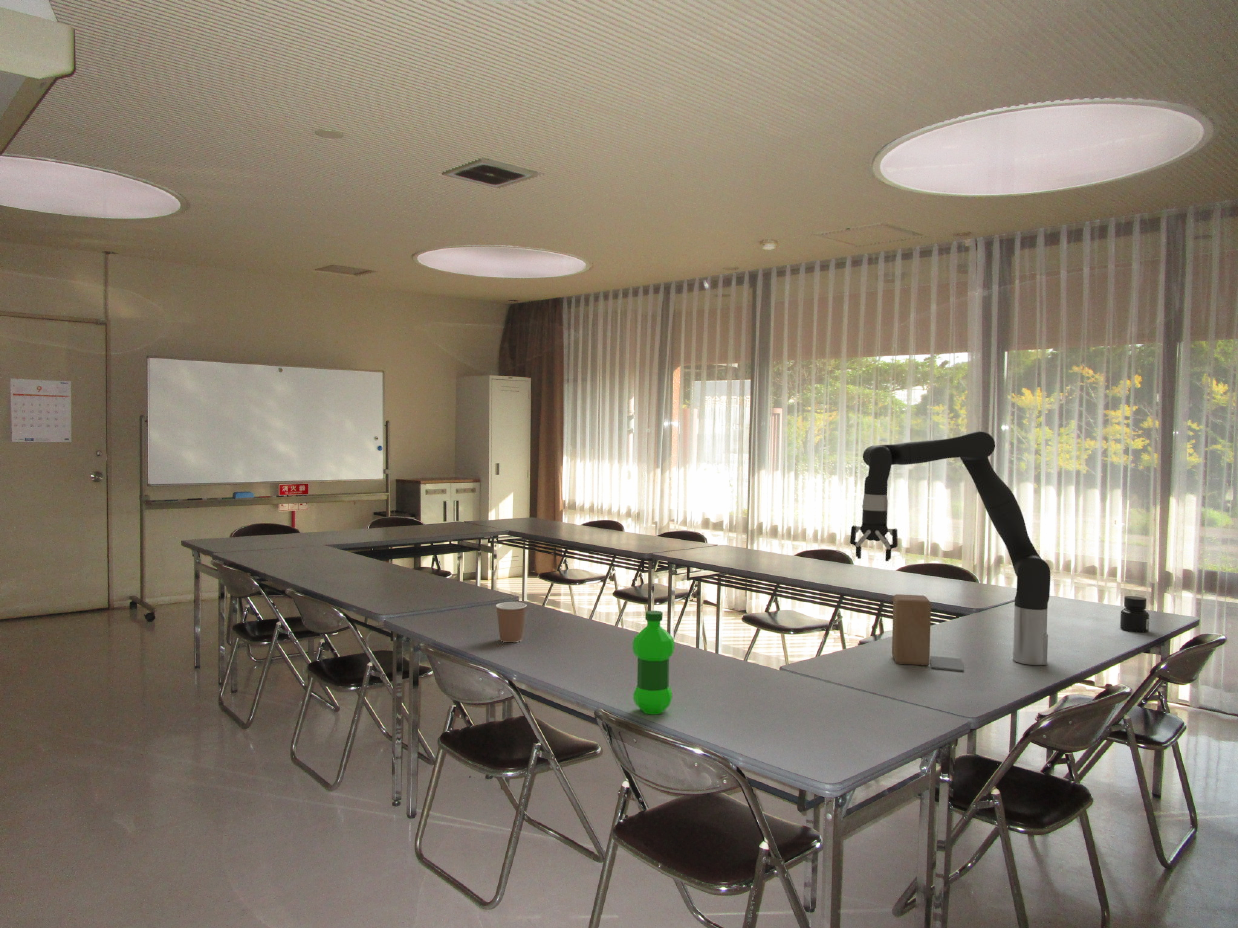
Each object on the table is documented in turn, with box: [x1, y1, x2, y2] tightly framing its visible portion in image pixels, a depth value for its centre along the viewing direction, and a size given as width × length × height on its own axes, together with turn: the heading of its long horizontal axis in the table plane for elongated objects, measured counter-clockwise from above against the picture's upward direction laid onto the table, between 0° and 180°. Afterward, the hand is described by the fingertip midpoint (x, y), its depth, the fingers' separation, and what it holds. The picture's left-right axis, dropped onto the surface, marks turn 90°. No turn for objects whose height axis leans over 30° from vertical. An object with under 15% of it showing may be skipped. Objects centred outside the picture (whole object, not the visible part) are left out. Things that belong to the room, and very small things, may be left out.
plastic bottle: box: [632, 610, 675, 715], centre depth 207 cm, size 10×10×25 cm
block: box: [891, 593, 932, 666], centre depth 255 cm, size 10×10×20 cm
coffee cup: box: [495, 601, 528, 643], centre depth 275 cm, size 10×10×12 cm
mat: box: [930, 655, 964, 672], centre depth 252 cm, size 9×13×1 cm
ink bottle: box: [1119, 595, 1150, 633], centre depth 300 cm, size 10×9×12 cm
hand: (872, 559), depth 260 cm, fingers open, 8 cm apart
